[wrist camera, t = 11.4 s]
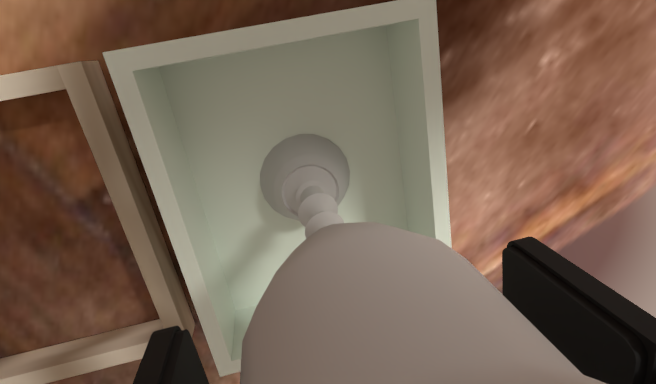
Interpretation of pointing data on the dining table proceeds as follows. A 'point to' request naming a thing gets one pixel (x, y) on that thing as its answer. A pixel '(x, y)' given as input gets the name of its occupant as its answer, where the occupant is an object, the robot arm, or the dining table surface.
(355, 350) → the chalice
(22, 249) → the dining table surface
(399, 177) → the sage bin
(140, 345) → the ash frame
